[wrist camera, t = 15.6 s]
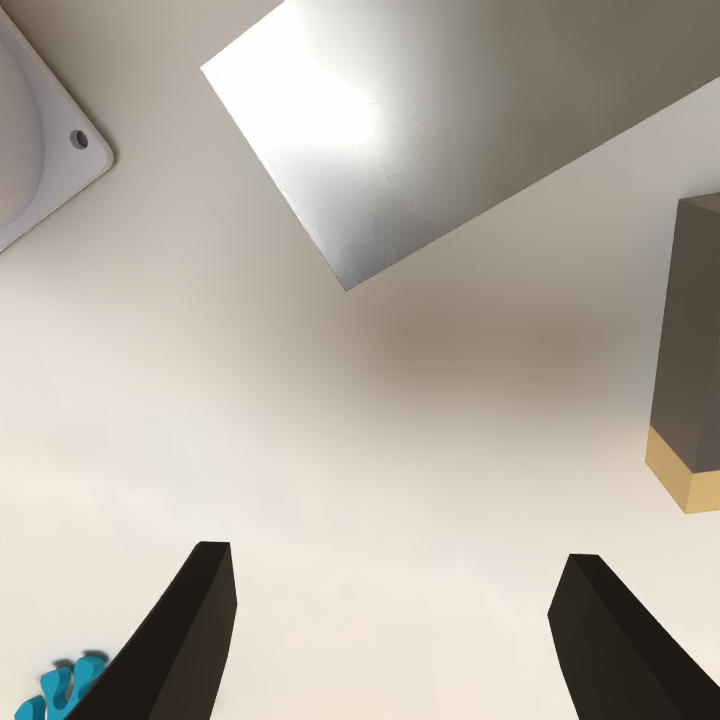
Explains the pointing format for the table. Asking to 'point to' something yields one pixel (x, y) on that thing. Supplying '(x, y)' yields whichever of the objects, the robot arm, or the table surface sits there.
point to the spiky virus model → (61, 690)
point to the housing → (445, 104)
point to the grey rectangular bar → (690, 363)
